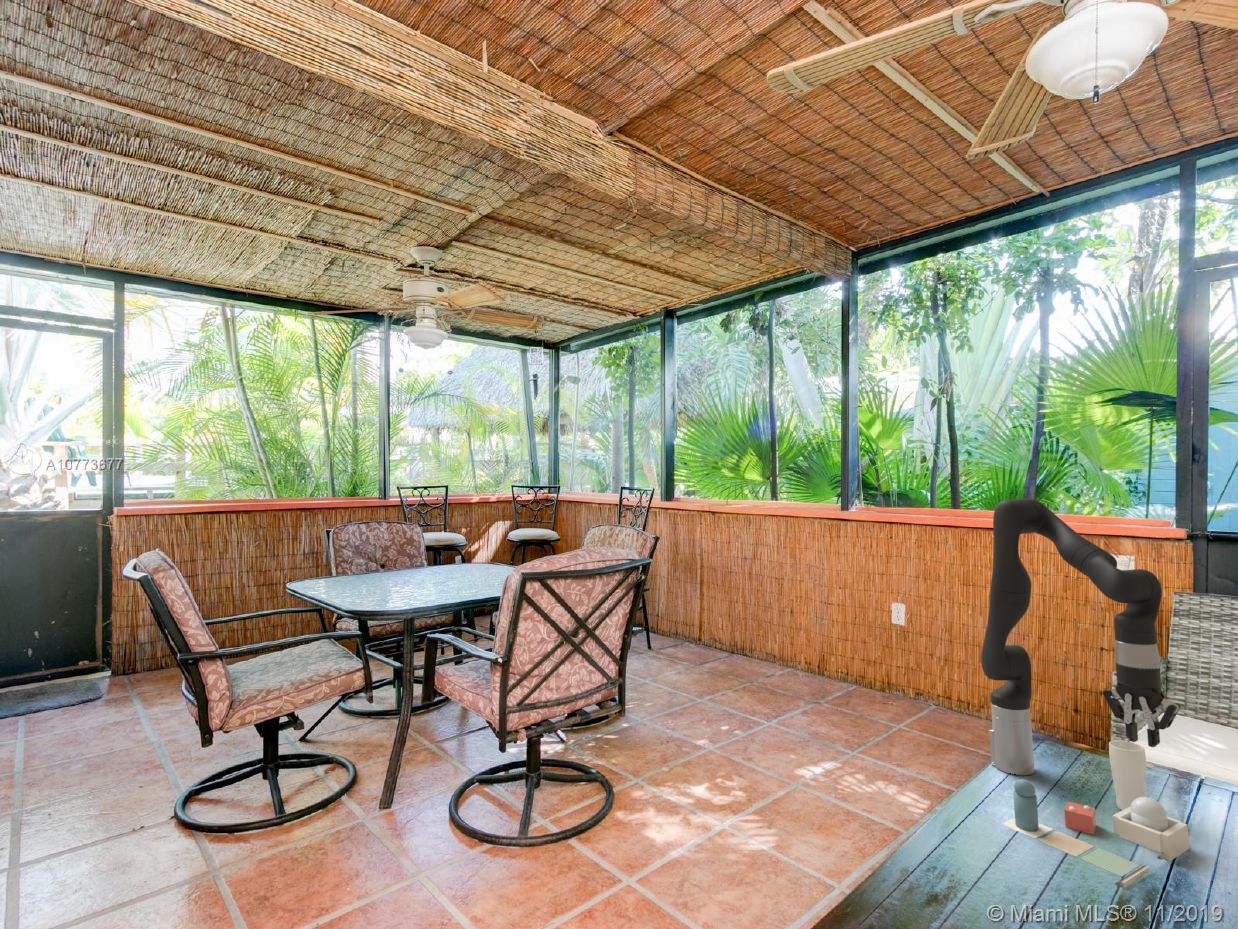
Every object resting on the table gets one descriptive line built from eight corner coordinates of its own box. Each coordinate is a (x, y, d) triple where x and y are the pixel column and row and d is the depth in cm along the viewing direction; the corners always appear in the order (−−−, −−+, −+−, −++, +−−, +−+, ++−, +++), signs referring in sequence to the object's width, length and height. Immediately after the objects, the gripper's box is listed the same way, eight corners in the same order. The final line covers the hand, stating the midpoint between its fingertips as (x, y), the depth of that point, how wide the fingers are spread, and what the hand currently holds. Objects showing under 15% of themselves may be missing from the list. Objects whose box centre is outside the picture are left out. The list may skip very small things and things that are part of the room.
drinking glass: (1136, 803, 152) (1131, 740, 153) (1157, 817, 145) (1152, 751, 146) (1106, 803, 152) (1101, 739, 153) (1125, 817, 146) (1121, 751, 147)
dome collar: (1112, 840, 137) (1110, 816, 137) (1135, 827, 141) (1133, 804, 142) (1168, 862, 128) (1166, 837, 128) (1190, 848, 133) (1188, 823, 133)
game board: (993, 829, 142) (993, 823, 142) (1019, 817, 147) (1019, 812, 147) (1123, 888, 120) (1123, 881, 120) (1149, 872, 125) (1148, 865, 125)
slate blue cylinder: (1011, 825, 142) (1008, 778, 142) (1022, 819, 144) (1019, 774, 144) (1031, 833, 138) (1028, 786, 138) (1043, 828, 140) (1039, 781, 140)
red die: (1066, 833, 140) (1064, 807, 140) (1069, 824, 144) (1067, 798, 144) (1094, 840, 137) (1092, 814, 137) (1096, 831, 140) (1094, 805, 141)
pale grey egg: (1126, 829, 136) (1124, 796, 136) (1140, 822, 139) (1137, 789, 139) (1160, 842, 131) (1157, 808, 131) (1174, 834, 134) (1171, 800, 134)
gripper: (1091, 658, 141) (1097, 737, 140) (1169, 672, 129) (1175, 759, 128) (1108, 653, 145) (1114, 730, 144) (1185, 666, 132) (1192, 750, 131)
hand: (1143, 743), depth 136 cm, fingers open, 3 cm apart
